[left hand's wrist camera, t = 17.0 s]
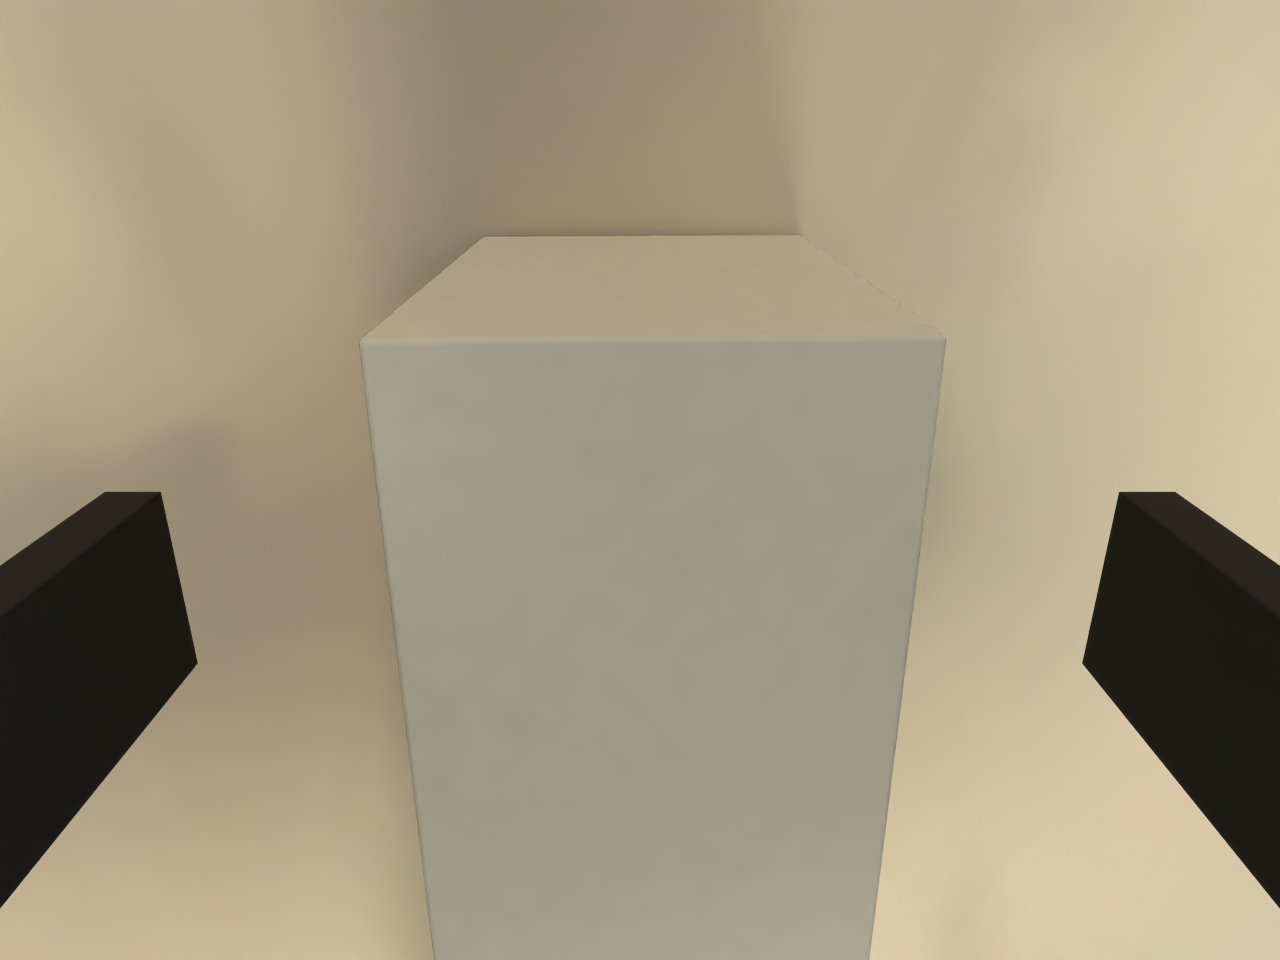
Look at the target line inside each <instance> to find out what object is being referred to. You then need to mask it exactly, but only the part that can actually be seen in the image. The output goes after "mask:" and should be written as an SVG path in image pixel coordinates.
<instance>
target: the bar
mask: <svg viewBox="0 0 1280 960" xmlns="http://www.w3.org/2000/svg"><path fill="white" fill-rule="evenodd" d="M945 345H946V339H945V335H943V334H942V333H941V332H939V331H938V330H936V329H935V328H933V327H932V326H930V325H929V324H928V323H926V322H925V321H923V320H922V319H920V318H919V317H917V316H916V315H915V314H913V313H912V312H910V311H909V310H907V309H906V308H904V307H903V306H902V305H900V304H899V303H897V302H896V301H894V300H893V299H891V298H890V297H889V296H887V295H886V294H884V293H883V292H881V291H880V290H878V289H877V288H876V287H874V286H873V285H871V284H870V283H868V282H867V281H865V280H864V279H863V278H861V277H860V276H858V275H857V274H855V273H854V272H852V271H851V270H850V269H848V268H847V267H845V266H844V265H842V264H841V263H839V262H838V261H837V260H835V259H834V258H832V257H831V256H829V255H828V254H826V253H825V252H824V251H822V250H821V249H819V248H818V247H816V246H815V245H813V244H812V243H811V242H809V241H808V240H806V239H805V238H803V237H802V236H800V235H708V236H532V237H483V238H481V239H480V240H479V241H478V242H477V243H475V244H474V245H473V246H472V247H471V248H469V249H468V250H467V251H466V252H465V253H463V254H462V255H461V256H460V257H459V258H457V259H456V260H455V261H454V262H453V263H451V264H450V265H449V266H448V267H447V268H445V269H444V270H443V271H442V272H441V273H439V274H438V275H437V276H436V277H435V278H434V279H432V280H431V281H430V282H429V283H428V284H426V285H425V286H424V287H423V288H422V289H420V290H419V291H418V292H417V293H416V294H414V295H413V296H412V297H411V298H410V299H408V300H407V301H406V302H405V303H404V304H402V305H401V306H400V307H399V308H398V309H396V310H395V311H394V312H393V313H392V314H390V315H389V316H388V317H387V318H386V319H384V320H383V321H382V322H381V323H380V324H378V325H377V326H376V327H375V328H374V329H372V330H371V331H370V332H369V333H368V334H366V335H365V336H364V337H363V338H362V339H361V340H360V343H359V347H360V356H361V364H362V372H363V380H364V388H365V397H366V405H367V413H368V421H369V429H370V438H371V446H372V454H373V462H374V470H375V479H376V487H377V495H378V503H379V511H380V520H381V528H382V536H383V544H384V552H385V561H386V569H387V577H388V585H389V593H390V602H391V610H392V618H393V626H394V634H395V643H396V651H397V659H398V667H399V675H400V684H401V692H402V700H403V708H404V716H405V725H406V733H407V741H408V749H409V757H410V766H411V774H412V782H413V790H414V798H415V807H416V815H417V823H418V831H419V839H420V848H421V856H422V864H423V872H424V880H425V889H426V897H427V905H428V913H429V921H430V930H431V938H432V946H433V954H434V960H869V958H870V950H871V942H872V934H873V925H874V917H875V909H876V901H877V893H878V885H879V877H880V869H881V861H882V853H883V845H884V837H885V829H886V821H887V813H888V805H889V796H890V788H891V780H892V772H893V764H894V756H895V748H896V740H897V732H898V724H899V716H900V708H901V700H902V692H903V684H904V676H905V668H906V659H907V651H908V643H909V635H910V627H911V619H912V611H913V603H914V595H915V587H916V579H917V571H918V563H919V555H920V547H921V539H922V530H923V522H924V514H925V506H926V498H927V490H928V482H929V474H930V466H931V458H932V450H933V442H934V434H935V426H936V418H937V410H938V401H939V393H940V385H941V377H942V369H943V361H944V353H945Z"/></svg>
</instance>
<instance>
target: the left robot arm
mask: <svg viewBox="0 0 1280 960" xmlns="http://www.w3.org/2000/svg"><path fill="white" fill-rule="evenodd" d="M197 664H198V663H197V658H196V653H195V649H194V644H193V639H192V635H191V630H190V626H189V621H188V616H187V612H186V607H185V602H184V598H183V593H182V588H181V584H180V579H179V574H178V570H177V565H176V560H175V556H174V551H173V546H172V542H171V537H170V533H169V528H168V523H167V519H166V514H165V509H164V505H163V500H162V495H161V492H104V493H103V494H101V495H100V496H98V497H97V498H96V499H94V500H93V501H91V502H90V503H89V504H87V505H86V506H84V507H83V508H81V509H80V510H79V511H77V512H76V513H74V514H73V515H71V516H70V517H69V518H67V519H66V520H64V521H63V522H62V523H60V524H59V525H57V526H56V527H54V528H53V529H52V530H50V531H49V532H47V533H46V534H45V535H43V536H42V537H40V538H39V539H37V540H36V541H35V542H33V543H32V544H30V545H29V546H28V547H26V548H25V549H23V550H22V551H20V552H19V553H18V554H16V555H15V556H13V557H12V558H10V559H9V560H8V561H6V562H5V563H3V564H2V565H1V566H0V908H1V907H2V905H3V904H4V903H5V902H6V900H7V899H8V898H9V897H10V896H11V894H12V893H13V892H14V891H15V889H16V888H17V887H18V886H19V884H20V883H21V882H22V881H23V879H24V878H25V877H26V876H27V874H28V873H29V872H30V871H31V869H32V868H33V867H34V866H35V865H36V863H37V862H38V861H39V860H40V858H41V857H42V856H43V855H44V853H45V852H46V851H47V850H48V848H49V847H50V846H51V845H52V843H53V842H54V841H55V840H56V838H57V837H58V836H59V835H60V834H61V832H62V831H63V830H64V829H65V827H66V826H67V825H68V824H69V822H70V821H71V820H72V819H73V817H74V816H75V815H76V814H77V812H78V811H79V810H80V809H81V807H82V806H83V805H84V804H85V803H86V801H87V800H88V799H89V798H90V796H91V795H92V794H93V793H94V791H95V790H96V789H97V788H98V786H99V785H100V784H101V783H102V781H103V780H104V779H105V778H106V776H107V775H108V774H109V773H110V771H111V770H112V769H113V768H114V767H115V765H116V764H117V763H118V762H119V760H120V759H121V758H122V757H123V755H124V754H125V753H126V752H127V750H128V749H129V748H130V747H131V745H132V744H133V743H134V742H135V740H136V739H137V738H138V737H139V736H140V734H141V733H142V732H143V731H144V729H145V728H146V727H147V726H148V724H149V723H150V722H151V721H152V719H153V718H154V717H155V716H156V714H157V713H158V712H159V711H160V709H161V708H162V707H163V706H164V705H165V703H166V702H167V701H168V700H169V698H170V697H171V696H172V695H173V693H174V692H175V691H176V690H177V688H178V687H179V686H180V685H181V683H182V682H183V681H184V680H185V678H186V677H187V676H188V675H189V674H190V672H191V671H192V670H193V669H194V667H195V666H196V665H197ZM1082 664H1083V665H1084V666H1085V667H1086V669H1087V670H1088V671H1089V672H1090V674H1091V675H1092V676H1093V677H1094V678H1095V680H1096V681H1097V682H1098V683H1099V685H1100V686H1101V687H1102V688H1103V690H1104V691H1105V692H1106V693H1107V695H1108V696H1109V697H1110V698H1111V700H1112V701H1113V702H1114V703H1115V705H1116V706H1117V707H1118V708H1119V709H1120V711H1121V712H1122V713H1123V714H1124V716H1125V717H1126V718H1127V719H1128V721H1129V722H1130V723H1131V724H1132V726H1133V727H1134V728H1135V729H1136V731H1137V732H1138V733H1139V734H1140V736H1141V737H1142V738H1143V739H1144V740H1145V742H1146V743H1147V744H1148V745H1149V747H1150V748H1151V749H1152V750H1153V752H1154V753H1155V754H1156V755H1157V757H1158V758H1159V759H1160V760H1161V762H1162V763H1163V764H1164V765H1165V767H1166V768H1167V769H1168V770H1169V771H1170V773H1171V774H1172V775H1173V776H1174V778H1175V779H1176V780H1177V781H1178V783H1179V784H1180V785H1181V786H1182V788H1183V789H1184V790H1185V791H1186V793H1187V794H1188V795H1189V796H1190V798H1191V799H1192V800H1193V801H1194V803H1195V804H1196V805H1197V806H1198V807H1199V809H1200V810H1201V811H1202V812H1203V814H1204V815H1205V816H1206V817H1207V819H1208V820H1209V821H1210V822H1211V824H1212V825H1213V826H1214V827H1215V829H1216V830H1217V831H1218V832H1219V834H1220V835H1221V836H1222V837H1223V838H1224V840H1225V841H1226V842H1227V843H1228V845H1229V846H1230V847H1231V848H1232V850H1233V851H1234V852H1235V853H1236V855H1237V856H1238V857H1239V858H1240V860H1241V861H1242V862H1243V863H1244V865H1245V866H1246V867H1247V868H1248V869H1249V871H1250V872H1251V873H1252V874H1253V876H1254V877H1255V878H1256V879H1257V881H1258V882H1259V883H1260V884H1261V886H1262V887H1263V888H1264V889H1265V891H1266V892H1267V893H1268V894H1269V896H1270V897H1271V898H1272V899H1273V900H1274V902H1275V903H1276V904H1277V905H1278V907H1279V908H1280V566H1279V565H1278V564H1277V563H1275V562H1274V561H1272V560H1271V559H1270V558H1268V557H1267V556H1265V555H1264V554H1262V553H1261V552H1260V551H1258V550H1257V549H1255V548H1254V547H1252V546H1251V545H1250V544H1248V543H1247V542H1245V541H1244V540H1243V539H1241V538H1240V537H1238V536H1237V535H1235V534H1234V533H1233V532H1231V531H1230V530H1228V529H1227V528H1226V527H1224V526H1223V525H1221V524H1220V523H1218V522H1217V521H1216V520H1214V519H1213V518H1211V517H1210V516H1209V515H1207V514H1206V513H1204V512H1203V511H1201V510H1200V509H1199V508H1197V507H1196V506H1194V505H1193V504H1191V503H1190V502H1189V501H1187V500H1186V499H1184V498H1183V497H1182V496H1180V495H1179V494H1177V493H1176V492H1119V495H1118V500H1117V505H1116V509H1115V514H1114V519H1113V523H1112V528H1111V533H1110V537H1109V542H1108V546H1107V551H1106V556H1105V560H1104V565H1103V570H1102V574H1101V579H1100V584H1099V588H1098V593H1097V598H1096V602H1095V607H1094V612H1093V616H1092V621H1091V626H1090V630H1089V635H1088V639H1087V644H1086V649H1085V653H1084V658H1083V663H1082Z"/></svg>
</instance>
